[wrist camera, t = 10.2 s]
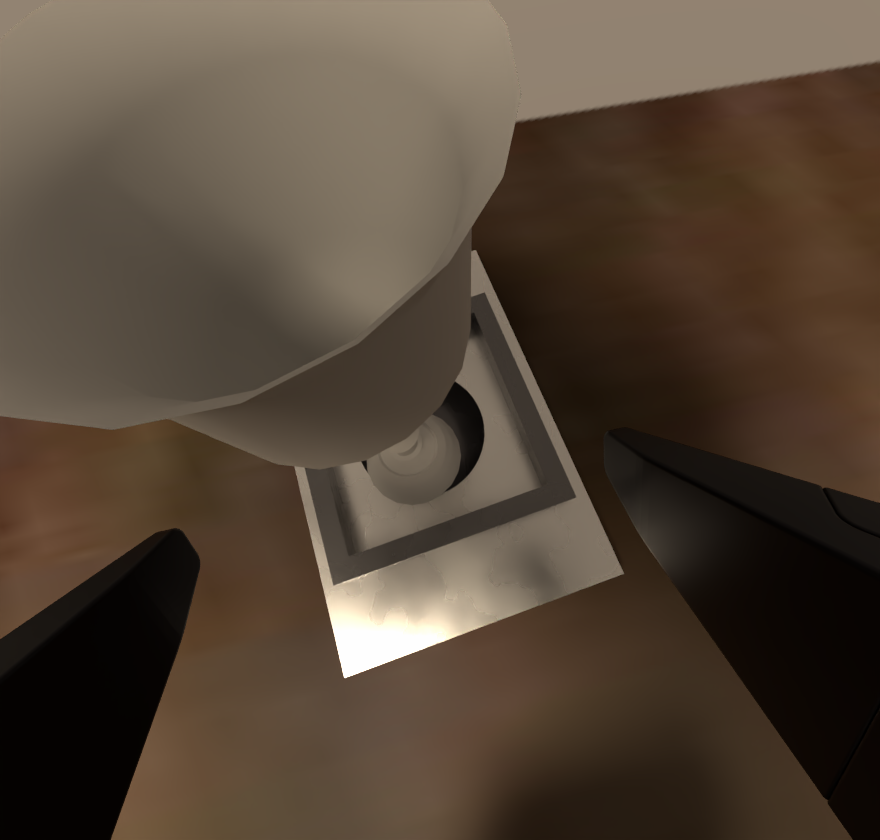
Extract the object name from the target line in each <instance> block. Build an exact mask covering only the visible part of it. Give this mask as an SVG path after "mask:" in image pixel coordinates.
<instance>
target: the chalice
mask: <svg viewBox="0 0 880 840" xmlns="http://www.w3.org/2000/svg"><path fill="white" fill-rule="evenodd" d="M520 98H521V90H520V86H519V81H518V76H517V71H516V67H515V61H514V57H513V52H512V47H511V42H510V37H509V33H508V28H507V24H506V23H505V22H504V21H503V19H502V18H501V16H500V15H499V14H498V13H497V11H496V10H495V9H494V8H493V6H492V5H491V3H490V2H489V1H488V0H51V1H50V2H48V3H47V4H45V5H43V6H42V7H40V8H38V9H37V10H35V11H33V12H32V13H30V14H28V15H27V16H26V17H25V18H23V19H22V20H21V21H20V22H19V23H18V24H17V25H15V26H14V27H13V28H12V29H11V30H10V31H9V32H8V33H6V34H5V35H4V36H3V37H2V38H1V39H0V416H5V417H13V418H21V419H29V420H38V421H46V422H54V423H62V424H70V425H79V426H87V427H95V428H103V429H111V430H114V429H119V428H124V427H129V426H134V425H139V424H143V423H148V422H153V421H158V420H163V419H170V420H173V421H175V422H177V423H180V424H182V425H184V426H187V427H189V428H192V429H194V430H196V431H199V432H201V433H203V434H206V435H208V436H211V437H213V438H215V439H218V440H220V441H223V442H225V443H227V444H230V445H232V446H234V447H237V448H239V449H242V450H244V451H246V452H249V453H251V454H253V455H256V456H258V457H261V458H263V459H265V460H268V461H270V462H272V463H275V464H280V465H288V466H296V467H304V468H312V469H319V470H320V469H325V468H330V467H335V466H340V465H345V464H350V463H355V462H360V461H365V460H367V471H368V473H369V476H370V478H371V480H372V483H373V485H374V486H375V487H376V488H377V489H378V490H379V491H380V492H381V494H382V495H383V496H385V497H387V498H389V499H391V500H393V501H394V502H396V503H402V504H408V505H415V504H422V503H427V502H429V501H431V500H433V499H435V498H437V497H439V496H441V495H442V494H443V493H444V492H445V491H446V490H447V489H448V488H449V487H450V486H451V485H452V483H453V481H454V479H455V477H456V475H457V473H458V471H459V466H460V460H461V453H460V446H459V441H458V439H457V437H456V435H455V434H454V432H453V430H452V428H451V427H449V426H448V425H447V424H446V423H445V422H444V421H443V420H442V419H440V418H438V417H436V416H434V415H432V414H433V413H434V412H435V411H436V410H437V409H438V408H439V407H440V406H441V404H442V403H443V401H444V399H445V398H446V396H447V394H448V392H449V391H450V389H451V387H452V385H453V384H454V382H455V380H456V378H457V377H458V375H459V373H460V371H461V370H462V367H463V362H464V358H465V353H466V348H467V344H468V339H469V335H470V330H471V232H472V226H473V224H474V222H475V221H476V219H477V218H478V216H479V214H480V213H481V211H482V210H483V208H484V206H485V205H486V203H487V202H488V200H489V198H490V197H491V195H492V194H493V192H494V191H495V189H496V187H497V186H498V184H499V183H500V181H501V179H502V178H503V176H504V171H505V166H506V162H507V157H508V153H509V148H510V144H511V139H512V135H513V130H514V126H515V121H516V116H517V112H518V107H519V103H520Z"/></svg>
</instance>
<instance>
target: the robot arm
mask: <svg viewBox="0 0 880 840" xmlns="http://www.w3.org/2000/svg"><path fill="white" fill-rule="evenodd" d="M604 467H605V471H606V474H607V476H608V478H609V480H610V482H611V484H612V486H613V487H614V489H615V491H616V493H617V495H618V497H619V498H620V500H621V502H622V504H623V506H624V508H625V509H626V511H627V513H628V515H629V517H630V519H631V521H632V522H633V524H634V526H635V528H636V529H637V531H638V533H639V535H640V536H641V538H642V539H643V541H644V542H645V544H646V545H647V547H648V548H649V550H650V551H651V552H652V554H653V555H654V557H655V558H656V560H657V561H658V562H659V564H660V565H661V567H662V568H663V569H664V571H665V572H666V574H667V575H668V577H669V578H670V579H671V581H672V582H673V584H674V585H675V587H676V588H677V589H678V591H679V592H680V594H681V595H682V596H683V598H684V599H685V601H686V602H687V604H688V605H689V606H690V608H691V609H692V611H693V612H694V614H695V615H696V616H697V618H698V619H699V621H700V622H701V624H702V625H703V626H704V628H705V629H706V631H707V632H708V633H709V635H710V636H711V638H712V639H713V641H714V642H715V643H716V645H717V646H718V648H719V649H720V651H721V652H722V653H723V655H724V656H725V658H726V659H727V661H728V662H729V663H730V665H731V666H732V668H733V669H734V670H735V672H736V673H737V675H738V676H739V678H740V679H741V680H742V682H743V683H744V685H745V686H746V688H747V689H748V690H749V692H750V693H751V695H752V696H753V698H754V699H755V700H756V702H757V703H758V705H759V706H760V707H761V709H762V710H763V712H764V713H765V715H766V716H767V717H768V719H769V720H770V722H771V723H772V725H773V726H774V727H775V729H776V730H777V732H778V733H779V735H780V736H781V737H782V739H783V740H784V742H785V743H786V744H787V746H788V747H789V749H790V750H791V752H792V753H793V754H794V756H795V757H796V759H797V760H798V762H799V763H800V764H801V766H802V767H803V769H804V770H805V772H806V773H807V774H808V776H809V777H810V779H811V780H812V781H813V783H814V784H815V786H816V787H817V789H818V790H819V791H820V793H821V794H822V796H823V797H824V798H825V799H827V800H828V805H829V806H830V808H831V809H832V811H833V812H834V813H835V815H836V816H837V818H838V819H839V821H840V822H841V823H842V825H843V826H844V828H845V829H846V830H847V832H848V833H849V835H850V836H851V838H852V839H853V840H880V503H878V502H874V501H871V500H867V499H864V498H860V497H857V496H853V495H850V494H847V493H843V492H840V491H837V490H833V489H830V488H823V489H822V487H821V486H819V485H816V484H813V483H810V482H806V481H803V480H800V479H796V478H793V477H790V476H786V475H783V474H780V473H776V472H773V471H770V470H766V469H763V468H760V467H756V466H753V465H750V464H746V463H743V462H740V461H736V460H733V459H730V458H726V457H723V456H720V455H716V454H713V453H710V452H706V451H703V450H700V449H696V448H693V447H690V446H686V445H683V444H680V443H676V442H673V441H670V440H666V439H663V438H660V437H656V436H653V435H650V434H646V433H643V432H640V431H636V430H633V429H630V428H626V427H624V428H619V429H614V430H610V431H607V432H606V433H605V435H604ZM199 570H200V559H199V556H198V554H197V552H196V551H195V549H194V548H193V546H192V545H191V543H190V542H189V540H188V538H187V537H186V535H185V534H184V533H183V531H181V530H180V529H177V528H174V529H169V530H165V531H160V532H157V533H155V534H153V535H152V536H150V537H149V538H147V539H146V540H144V541H143V542H142V543H140V544H139V545H137V546H136V547H134V548H133V549H131V550H130V551H128V552H127V553H125V554H124V555H123V556H121V557H120V558H118V559H117V560H115V561H114V562H112V563H111V564H109V565H108V566H107V567H105V568H104V569H102V570H101V571H99V572H98V573H96V574H95V575H93V576H92V577H90V578H89V579H88V580H86V581H85V582H83V583H82V584H80V585H79V586H77V587H76V588H74V589H73V590H72V591H70V592H69V593H67V594H66V595H64V596H63V597H61V598H60V599H58V600H57V601H56V602H54V603H53V604H51V605H50V606H48V607H47V608H45V609H44V610H42V611H41V612H39V613H38V614H37V615H35V616H34V617H32V618H31V619H29V620H28V621H26V622H25V623H23V624H22V625H21V626H19V627H18V628H16V629H15V630H13V631H12V632H10V633H9V634H7V635H6V636H4V637H3V638H2V639H0V840H111V837H112V834H113V832H114V829H115V826H116V823H117V820H118V818H119V815H120V812H121V809H122V806H123V804H124V801H125V798H126V795H127V792H128V789H129V787H130V784H131V781H132V778H133V775H134V773H135V770H136V767H137V764H138V761H139V759H140V756H141V753H142V750H143V747H144V745H145V742H146V739H147V736H148V733H149V731H150V728H151V725H152V722H153V719H154V717H155V714H156V711H157V708H158V705H159V703H160V700H161V697H162V694H163V691H164V688H165V686H166V683H167V680H168V677H169V674H170V672H171V669H172V666H173V663H174V660H175V658H176V655H177V652H178V649H179V646H180V643H181V640H182V637H183V633H184V629H185V626H186V622H187V618H188V614H189V610H190V606H191V602H192V598H193V594H194V590H195V586H196V582H197V578H198V574H199Z"/></svg>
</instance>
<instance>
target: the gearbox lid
mask: <svg viewBox="0 0 880 840" xmlns="http://www.w3.org/2000/svg"><path fill="white" fill-rule="evenodd" d="M432 415H434V416H436V417H438V418H440V419H442V420H443V421H444V422H445V423H446V424H447V425H448V426H449V427H451V428H452V430H453V432H454V434H455V435H456V437H457V439H458V441H459V446H460V453H461V460H460V466H459V471H458V473H457V475H456V477H455V479H454V481H453V483H452V485H451V486H450V487H449V488H448V489H447V490H446V491H445V492H444V493H443V494H442V495H441V496H439V497H437V498H435V499H433V500H431V501H429V502H427V503H422V504H415V505H408V504H402V503H396V502H394V501H393V500H391V499H389V498H387V497H385V496H383V495H382V494H381V492H380V491H379V490H378V489H377V488H376V487H375V486H374V485H373V483H372V480H371V478H370V476H369V473H368V471H367V460H365V461H360V462H355V463H350V464H345V465H340V466H335V467H330V468H325V469H320V470H319V469H312V468H304V467H296V466H295V471H296V475H297V479H298V483H299V487H300V492H301V496H302V500H303V504H304V509H305V513H306V517H307V521H308V526H309V530H310V534H311V538H312V542H313V547H314V551H315V555H316V559H317V564H318V568H319V572H320V576H321V581H322V585H323V589H324V593H325V597H326V602H327V606H328V610H329V614H330V619H331V623H332V627H333V631H334V636H335V640H336V644H337V648H338V652H339V657H340V661H341V665H342V669H343V674H344V678H346V677H349V676H351V675H354V674H357V673H359V672H362V671H365V670H367V669H370V668H373V667H375V666H378V665H381V664H383V663H386V662H389V661H391V660H394V659H397V658H399V657H402V656H405V655H407V654H410V653H413V652H416V651H418V650H421V649H424V648H426V647H429V646H432V645H434V644H437V643H440V642H442V641H445V640H448V639H450V638H453V637H456V636H458V635H461V634H464V633H466V632H469V631H472V630H475V629H477V628H480V627H483V626H485V625H488V624H491V623H493V622H496V621H499V620H501V619H504V618H507V617H509V616H512V615H515V614H517V613H520V612H523V611H525V610H528V609H531V608H533V607H536V606H539V605H542V604H544V603H547V602H550V601H552V600H555V599H558V598H560V597H563V596H566V595H568V594H571V593H574V592H576V591H579V590H582V589H584V588H587V587H590V586H592V585H595V584H598V583H600V582H603V581H606V580H609V579H611V578H614V577H617V576H619V575H622V574H624V573H623V570H622V568H621V566H620V564H619V562H618V559H617V557H616V555H615V553H614V551H613V549H612V546H611V544H610V542H609V540H608V538H607V535H606V533H605V531H604V529H603V527H602V525H601V522H600V520H599V518H598V516H597V514H596V511H595V509H594V507H593V505H592V503H591V501H590V498H589V496H588V494H587V492H586V490H585V487H584V485H583V483H582V481H581V479H580V477H579V474H578V472H577V470H576V468H575V466H574V463H573V461H572V459H571V457H570V455H569V453H568V450H567V448H566V446H565V444H564V442H563V439H562V437H561V435H560V433H559V431H558V429H557V426H556V424H555V422H554V420H553V418H552V415H551V413H550V411H549V409H548V407H547V404H546V402H545V400H544V398H543V396H542V394H541V391H540V389H539V387H538V385H537V383H536V380H535V378H534V376H533V374H532V372H531V370H530V367H529V365H528V363H527V361H526V359H525V356H524V354H523V352H522V350H521V348H520V346H519V343H518V341H517V339H516V337H515V335H514V332H513V330H512V328H511V326H510V324H509V322H508V319H507V317H506V315H505V313H504V311H503V308H502V306H501V304H500V302H499V300H498V298H497V295H496V293H495V291H494V289H493V287H492V284H491V282H490V280H489V278H488V276H487V274H486V271H485V269H484V267H483V265H482V263H481V260H480V258H479V256H478V254H477V252H476V250H474V251H471V330H470V335H469V339H468V344H467V348H466V353H465V358H464V362H463V367H462V370H461V371H460V373H459V375H458V377H457V378H456V380H455V382H454V384H453V385H452V387H451V389H450V391H449V392H448V394H447V396H446V398H445V399H444V401H443V403H442V404H441V406H440V407H439V408H438V409H437V410H436V411H435V412H434V413H433V414H432Z"/></svg>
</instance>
